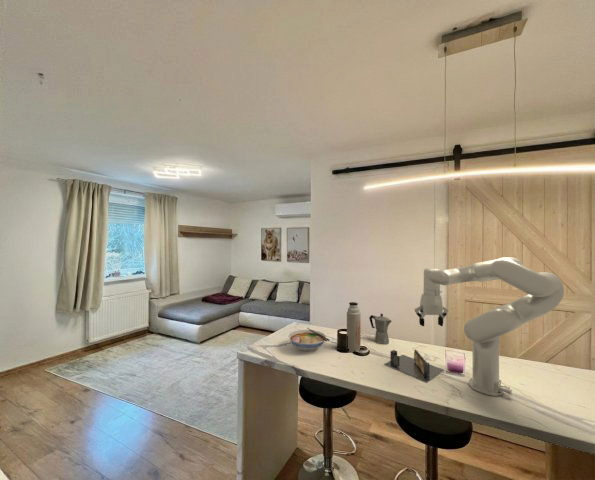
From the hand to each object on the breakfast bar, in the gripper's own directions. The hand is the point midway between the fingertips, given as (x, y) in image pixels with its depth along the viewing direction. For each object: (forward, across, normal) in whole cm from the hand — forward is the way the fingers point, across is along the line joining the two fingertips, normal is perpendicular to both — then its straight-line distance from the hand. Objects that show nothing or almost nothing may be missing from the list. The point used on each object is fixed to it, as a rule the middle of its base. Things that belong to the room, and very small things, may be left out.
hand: (431, 325), depth 134 cm
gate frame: (+21, +10, +1) cm, 23 cm away
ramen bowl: (+22, +62, -25) cm, 70 cm away
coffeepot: (+22, +14, -34) cm, 43 cm away
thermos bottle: (+22, +35, -21) cm, 46 cm away
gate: (+20, +7, +3) cm, 22 cm away
